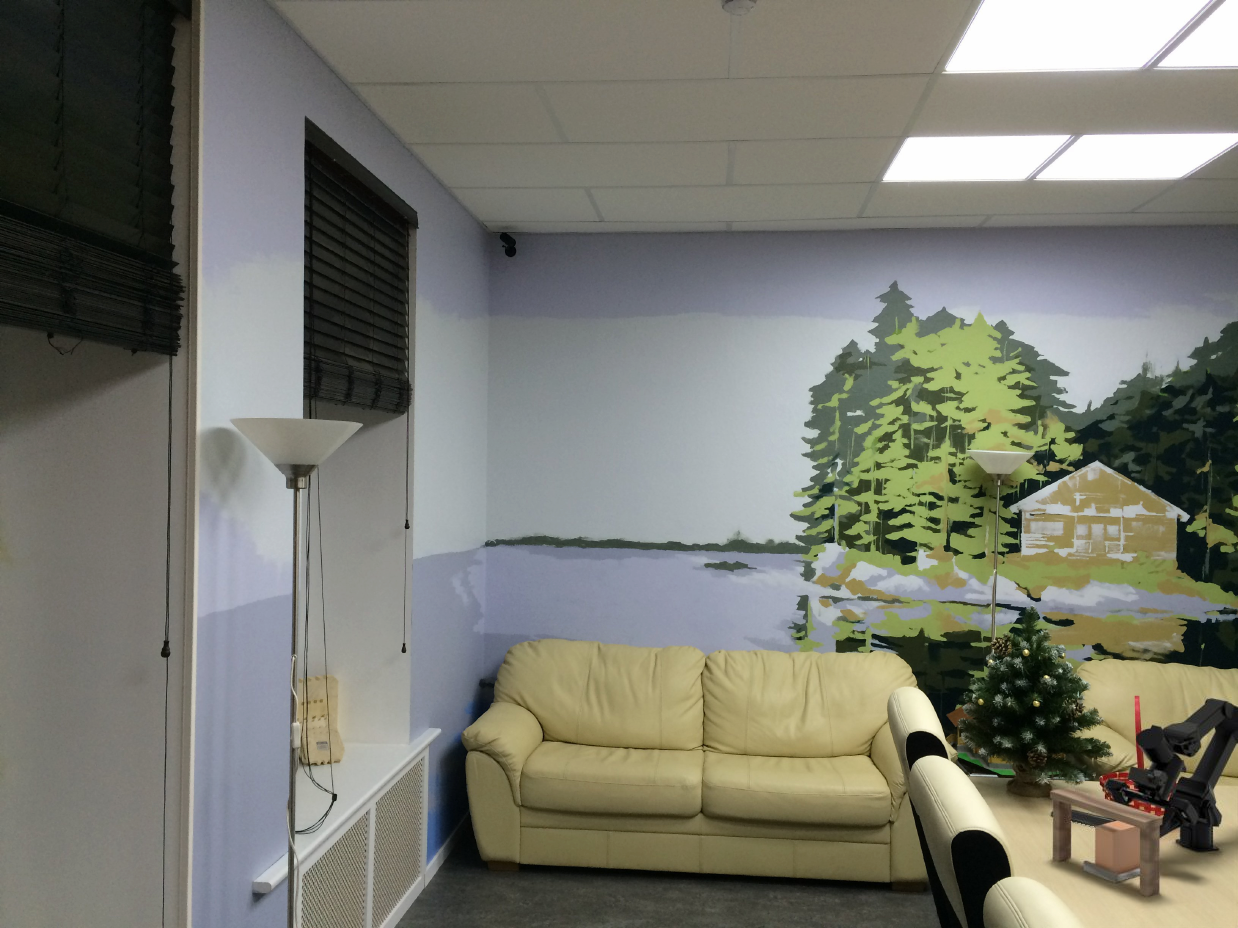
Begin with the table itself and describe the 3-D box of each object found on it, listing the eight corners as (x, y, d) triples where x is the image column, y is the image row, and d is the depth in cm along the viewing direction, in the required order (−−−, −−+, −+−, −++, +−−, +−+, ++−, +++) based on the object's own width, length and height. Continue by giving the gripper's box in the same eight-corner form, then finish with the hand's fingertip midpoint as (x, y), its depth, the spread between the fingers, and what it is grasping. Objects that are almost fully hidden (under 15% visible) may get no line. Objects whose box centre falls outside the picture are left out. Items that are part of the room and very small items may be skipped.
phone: (1058, 806, 237) (1121, 820, 227) (1058, 810, 237) (1121, 825, 227) (1049, 813, 231) (1113, 828, 221) (1049, 817, 231) (1113, 833, 221)
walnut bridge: (1087, 848, 210) (1087, 782, 210) (1182, 884, 191) (1182, 811, 191) (1049, 859, 203) (1050, 790, 203) (1144, 897, 184) (1144, 822, 185)
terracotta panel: (1127, 862, 203) (1127, 817, 203) (1144, 868, 199) (1144, 823, 199) (1095, 871, 197) (1095, 826, 197) (1112, 878, 193) (1112, 832, 194)
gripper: (1108, 743, 212) (1080, 797, 206) (1190, 764, 196) (1162, 824, 190) (1128, 771, 216) (1100, 825, 210) (1210, 795, 199) (1183, 854, 194)
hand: (1134, 831), depth 201 cm, fingers open, 9 cm apart
